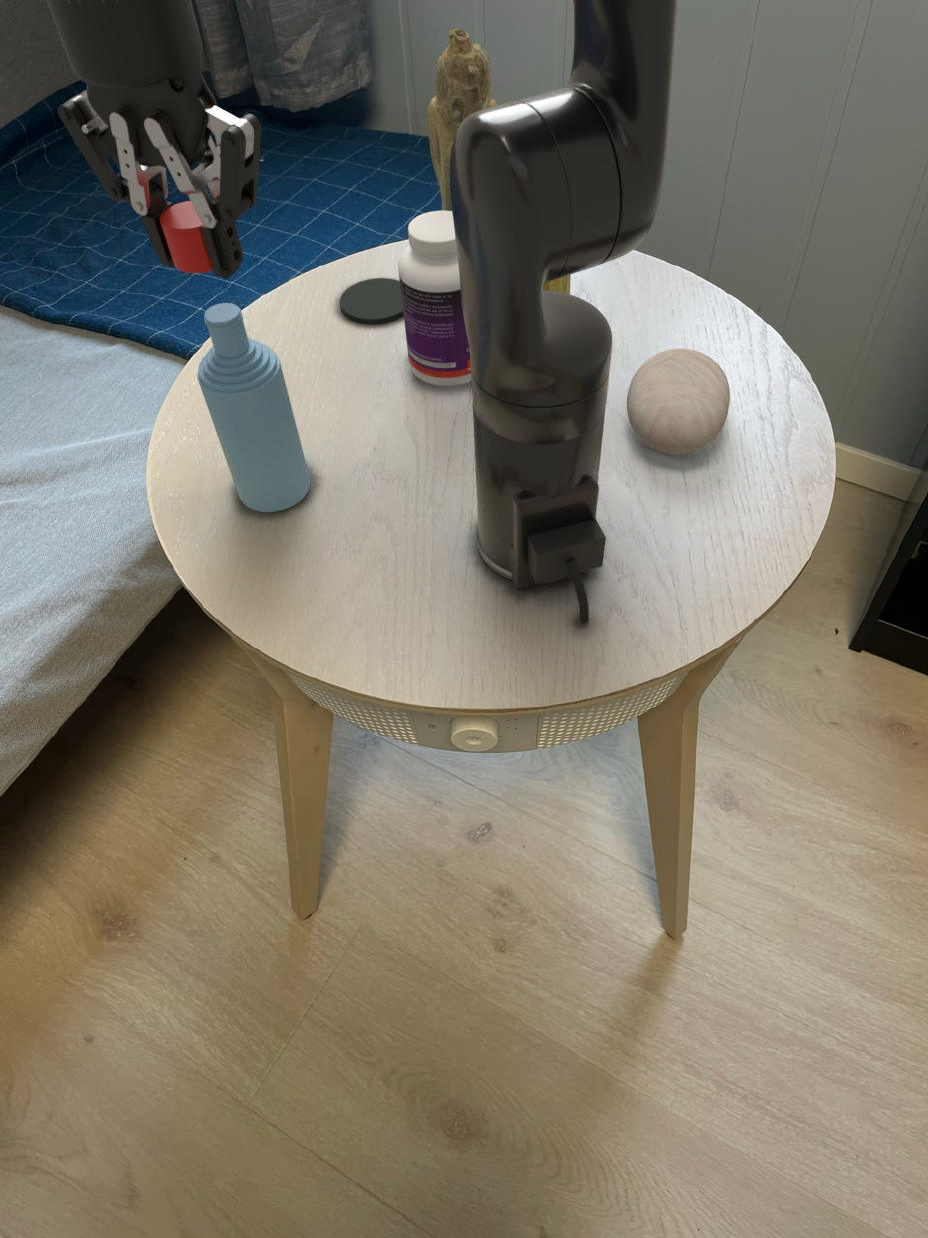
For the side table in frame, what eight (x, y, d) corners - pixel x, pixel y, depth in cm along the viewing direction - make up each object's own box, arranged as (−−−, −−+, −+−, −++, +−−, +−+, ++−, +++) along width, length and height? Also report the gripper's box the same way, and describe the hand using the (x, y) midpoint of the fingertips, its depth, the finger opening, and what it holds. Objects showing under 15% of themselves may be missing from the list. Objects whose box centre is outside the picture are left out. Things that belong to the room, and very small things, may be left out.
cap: (187, 241, 61) (174, 198, 58) (238, 245, 60) (227, 201, 58) (164, 271, 58) (149, 227, 56) (217, 275, 58) (204, 231, 55)
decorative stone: (639, 373, 83) (646, 328, 79) (733, 388, 81) (744, 343, 77) (609, 458, 76) (615, 413, 72) (711, 478, 74) (723, 432, 70)
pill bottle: (481, 395, 82) (476, 253, 71) (401, 388, 83) (383, 247, 72) (496, 345, 87) (493, 205, 76) (420, 339, 88) (406, 200, 77)
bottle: (316, 502, 74) (271, 327, 60) (243, 519, 73) (180, 345, 60) (304, 456, 78) (259, 281, 64) (234, 471, 77) (174, 297, 63)
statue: (505, 268, 96) (503, 6, 76) (500, 310, 91) (497, 41, 71) (444, 267, 96) (427, 8, 77) (436, 310, 91) (416, 43, 72)
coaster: (421, 315, 91) (421, 310, 90) (348, 330, 90) (347, 325, 89) (403, 276, 96) (403, 272, 95) (334, 291, 95) (333, 286, 94)
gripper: (-40, -21, 46) (87, 277, 59) (178, 1, 42) (260, 315, 55) (53, -62, 50) (151, 225, 63) (259, -46, 46) (317, 257, 59)
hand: (202, 265), depth 59 cm, fingers closed on cap, 4 cm apart
